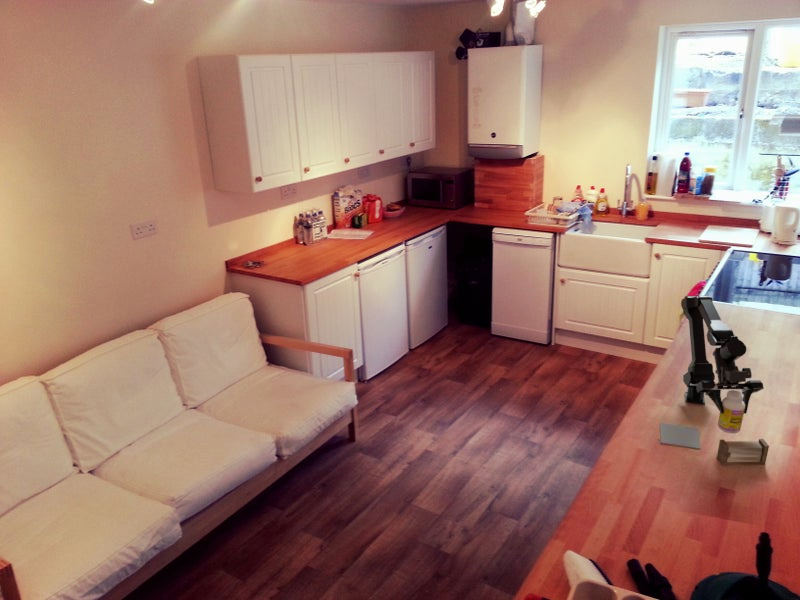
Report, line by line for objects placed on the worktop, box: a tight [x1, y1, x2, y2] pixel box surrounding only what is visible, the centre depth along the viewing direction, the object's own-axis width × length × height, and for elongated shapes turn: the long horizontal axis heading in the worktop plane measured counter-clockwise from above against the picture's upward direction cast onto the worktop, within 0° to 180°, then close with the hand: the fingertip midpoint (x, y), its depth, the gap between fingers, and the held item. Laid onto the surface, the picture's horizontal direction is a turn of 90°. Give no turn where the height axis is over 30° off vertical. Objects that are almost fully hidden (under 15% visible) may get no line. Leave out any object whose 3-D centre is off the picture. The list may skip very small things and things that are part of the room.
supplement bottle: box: [717, 389, 745, 434], centre depth 207 cm, size 7×7×13 cm
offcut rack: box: [716, 438, 770, 467], centre depth 204 cm, size 4×13×7 cm, turn 88°
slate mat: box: [659, 422, 701, 450], centre depth 218 cm, size 12×12×1 cm
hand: (733, 413), depth 206 cm, fingers closed on supplement bottle, 7 cm apart
